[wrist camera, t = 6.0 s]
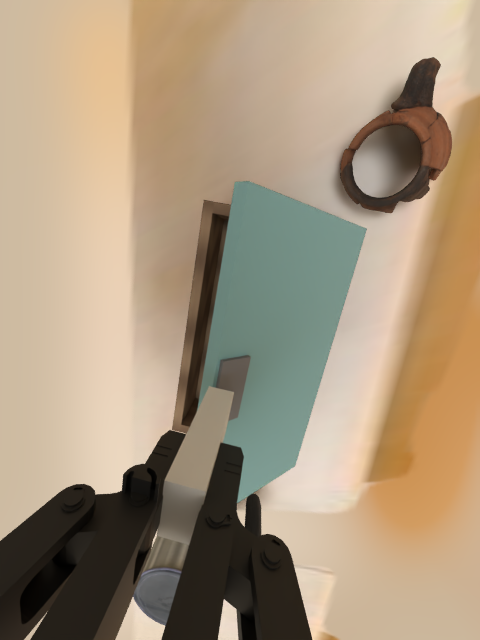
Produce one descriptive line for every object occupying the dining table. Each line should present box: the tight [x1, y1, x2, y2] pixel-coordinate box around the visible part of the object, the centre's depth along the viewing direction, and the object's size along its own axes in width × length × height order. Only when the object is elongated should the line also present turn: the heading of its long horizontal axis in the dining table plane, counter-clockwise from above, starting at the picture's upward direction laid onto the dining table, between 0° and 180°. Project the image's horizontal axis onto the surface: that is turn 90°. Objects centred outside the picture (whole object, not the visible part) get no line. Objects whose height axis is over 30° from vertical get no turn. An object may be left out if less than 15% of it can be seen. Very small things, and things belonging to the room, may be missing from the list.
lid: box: [197, 181, 367, 503], centre depth 23 cm, size 26×14×2 cm
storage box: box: [172, 200, 231, 433], centre depth 32 cm, size 26×14×7 cm, turn 169°
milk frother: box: [133, 494, 261, 626], centre depth 35 cm, size 14×16×15 cm
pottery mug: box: [340, 57, 452, 213], centre depth 26 cm, size 12×10×8 cm
